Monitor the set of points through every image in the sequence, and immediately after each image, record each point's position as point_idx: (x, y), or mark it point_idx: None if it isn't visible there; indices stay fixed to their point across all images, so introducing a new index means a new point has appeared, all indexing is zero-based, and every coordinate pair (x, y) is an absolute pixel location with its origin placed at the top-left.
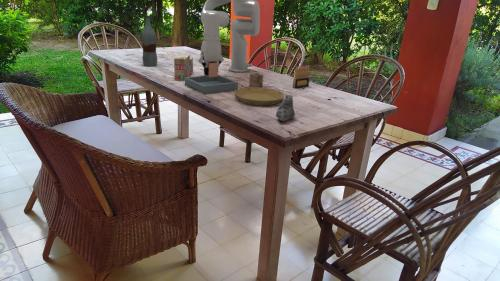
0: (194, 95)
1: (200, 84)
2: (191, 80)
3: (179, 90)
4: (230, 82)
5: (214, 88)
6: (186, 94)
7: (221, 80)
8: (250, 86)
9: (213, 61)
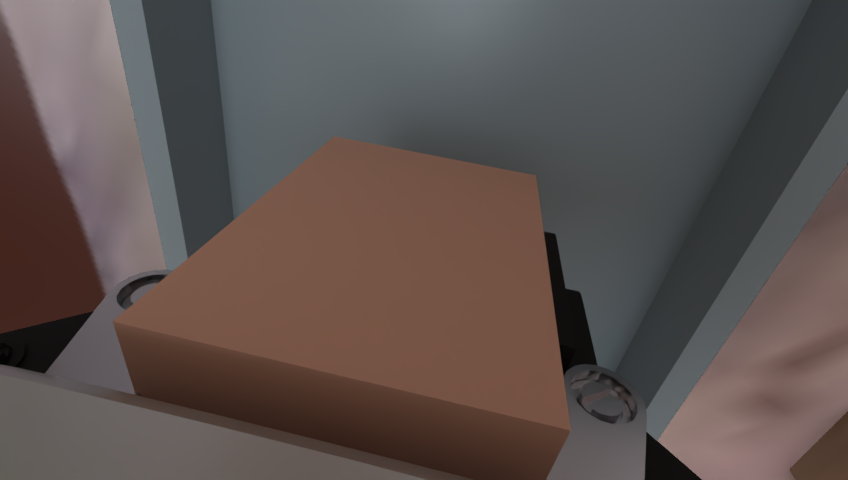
0: (143, 270)
1: None
2: (125, 46)
3: (37, 33)
4: (655, 352)
5: None
6: (82, 206)
7: (770, 122)
8: (843, 426)
9: (534, 475)
